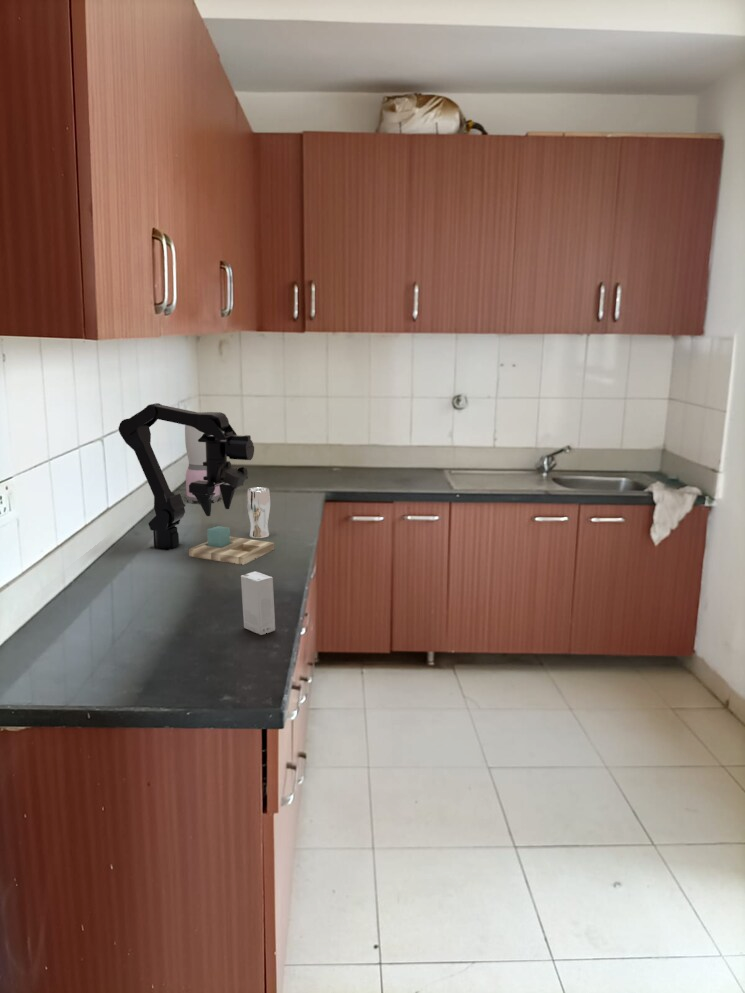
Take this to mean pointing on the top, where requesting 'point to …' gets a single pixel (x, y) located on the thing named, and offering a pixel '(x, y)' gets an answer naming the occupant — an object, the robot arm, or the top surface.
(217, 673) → the top surface
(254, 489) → the beer glass
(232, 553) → the pocket board
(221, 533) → the teal block
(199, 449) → the blender
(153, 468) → the robot arm
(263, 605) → the skincare box
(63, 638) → the top surface
